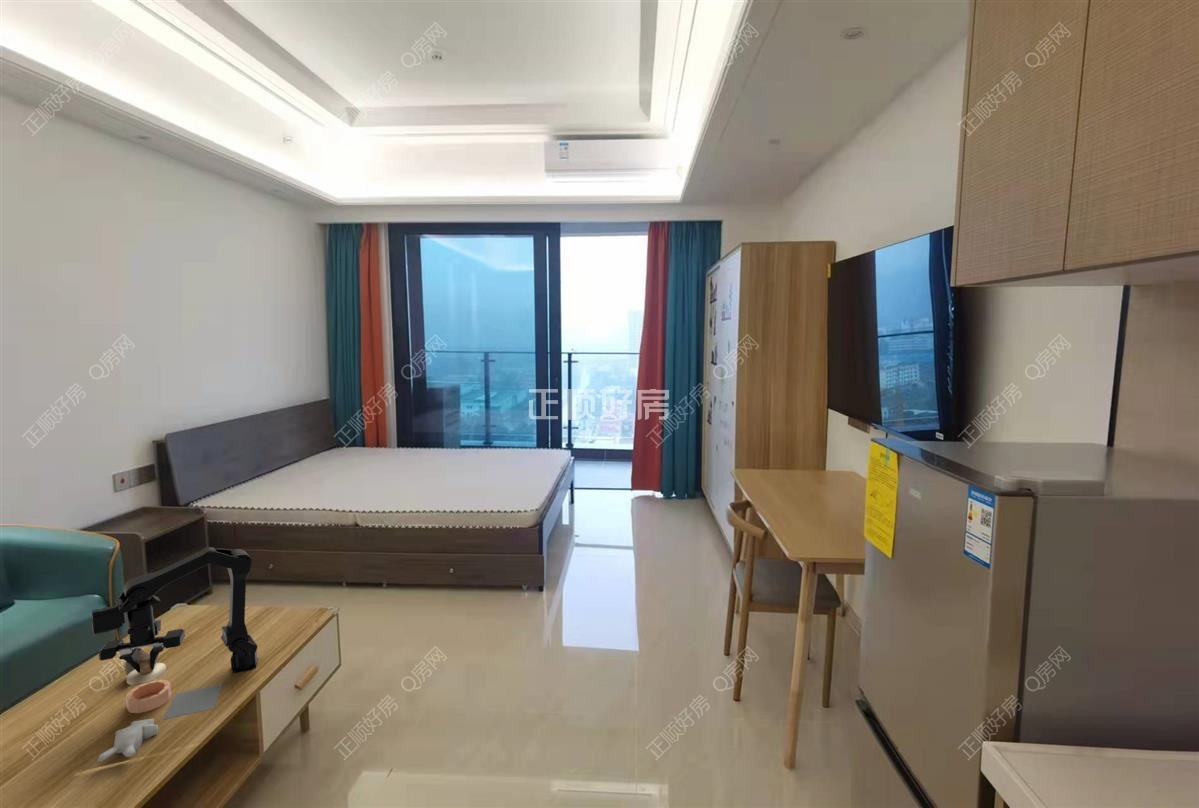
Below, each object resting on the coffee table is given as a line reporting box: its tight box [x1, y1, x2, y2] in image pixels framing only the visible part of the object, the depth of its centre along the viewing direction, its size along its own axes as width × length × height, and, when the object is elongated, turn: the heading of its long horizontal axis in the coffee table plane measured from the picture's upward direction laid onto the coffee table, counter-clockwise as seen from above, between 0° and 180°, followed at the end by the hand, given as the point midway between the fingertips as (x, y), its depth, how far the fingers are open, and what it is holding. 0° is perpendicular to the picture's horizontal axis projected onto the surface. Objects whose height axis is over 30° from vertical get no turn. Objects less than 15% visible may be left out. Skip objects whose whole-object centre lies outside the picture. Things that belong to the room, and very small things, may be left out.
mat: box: [162, 683, 223, 721], centre depth 163 cm, size 12×12×1 cm
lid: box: [125, 657, 167, 686], centre depth 161 cm, size 9×9×5 cm
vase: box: [124, 647, 150, 676], centre depth 175 cm, size 7×7×9 cm
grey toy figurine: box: [97, 718, 159, 763], centre depth 146 cm, size 10×5×15 cm
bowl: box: [125, 679, 173, 714], centre depth 163 cm, size 10×10×4 cm
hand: (146, 670), depth 162 cm, fingers closed on lid, 3 cm apart
